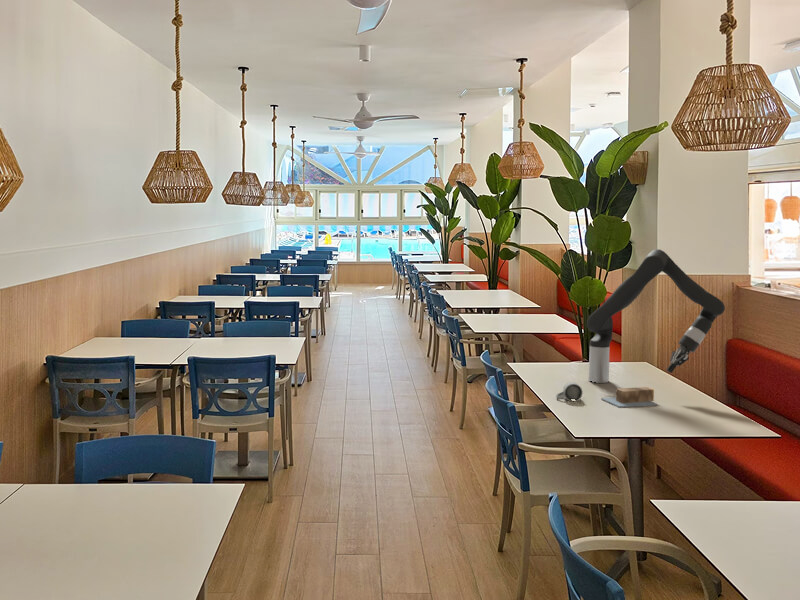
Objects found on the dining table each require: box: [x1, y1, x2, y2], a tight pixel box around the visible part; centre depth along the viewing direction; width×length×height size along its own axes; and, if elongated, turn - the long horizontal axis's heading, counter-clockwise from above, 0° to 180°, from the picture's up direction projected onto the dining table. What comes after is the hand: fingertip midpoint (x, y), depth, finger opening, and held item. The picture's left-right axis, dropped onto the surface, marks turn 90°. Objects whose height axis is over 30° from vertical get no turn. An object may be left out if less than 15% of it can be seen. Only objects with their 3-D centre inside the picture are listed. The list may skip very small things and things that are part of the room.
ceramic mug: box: [555, 381, 583, 402], centre depth 311 cm, size 11×8×8 cm
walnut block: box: [615, 386, 655, 403], centre depth 307 cm, size 5×5×15 cm
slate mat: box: [600, 396, 658, 409], centre depth 307 cm, size 18×14×1 cm
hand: (668, 371), depth 313 cm, fingers closed
